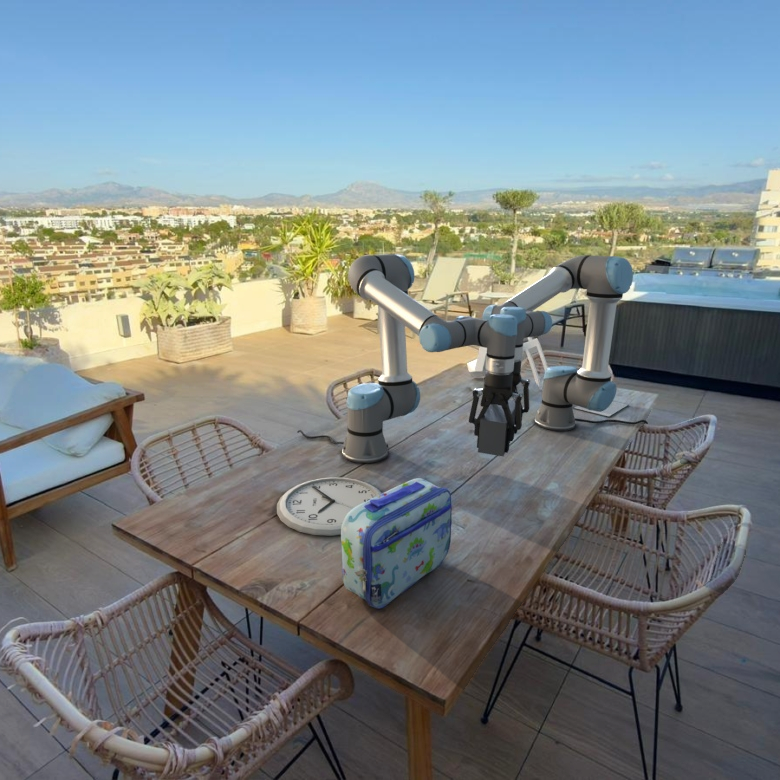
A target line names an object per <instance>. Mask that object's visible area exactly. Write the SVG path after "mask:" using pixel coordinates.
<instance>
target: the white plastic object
mask: <svg viewBox="0 0 780 780" xmlns="http://www.w3.org/2000/svg"><path fill="white" fill-rule="evenodd" d="M526 339H527V341H525V342H523V352H522V359H521V360H520V361H521V362H522V361H524V360H525V359H526V358H527V359H528V363H529V367H530V369H531V372H532V375H533V378H534V381H535V384H536V385H537V386H538V388H539V389H540V391H543V384H542V382H541V380H540V376H539V374H538V370H537V367H536V365H535V361H534V358H533V355H534V354H536V353H538V355H539V357H540V360H541V363H542V367H543V369H544V372H545V371H546V369H547V368H549V366H548V363H547V359H546V357H545V353H544V350H543V348H542V345H541V342H540V340H539V339H538V338H537V337H535V338H533V337H527V338H526ZM478 347H479V348H478V352H477V356H476V359H474V360H472V361H470V362H467V363H466V366H467V369H468V373H469V374H470V376H471V377H472V378H480V377H485V372H486V371H487V370H486V357H487V348H485V347H480V346H478Z"/></svg>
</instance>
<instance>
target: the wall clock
mask: <svg viewBox="0 0 780 780" xmlns="http://www.w3.org/2000/svg"><path fill="white" fill-rule="evenodd" d="M382 493H383V492H382V491H381V490H380V489H379V488H377V487H376V486H374V485H372V484H371V483H369V482H365V481H362V480H359V479H355V478H349V477H338V476H337V477H335V476H333V477H332V476H331V477H322V478H317V479H312V480H307V481H305V482H302V483H299V484H297V485H295V486H293V487H292V488H290V489H288V490H287V491H286V492H285V493H284V494H283V495H281V496H280V498H279V499H278V502H277V503H276V515H277V517H278V518H279V520H280V521H281V522H282V523H283V524H285V525H286V526H287V527H288V528H290V529H293V530H295V531H297V532H299V533H303V534H308V535H312V536H327V537H328V536H329V537H331V536H332V537H333V536H341V528H342V523H343V520H344V518H345V517H346V515H347V514H348V512H349V511H350V510H351V509H353V508H354V507H356V506H358V505H360V504H362V503H364V502H366V501H368V500H370V499H372V498H374V497H376V496H378V495H380V494H382Z"/></svg>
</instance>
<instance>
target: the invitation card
mask: <svg viewBox="0 0 780 780" xmlns="http://www.w3.org/2000/svg"><path fill="white" fill-rule="evenodd" d="M628 406H629V404H627V403H623V402H618V401H614V400H613V401H612V403H611V404H610V406H609V407H608V408H607V409H605V410H604V411H601V412H597V411H593V410H588V409H586V408H583V407H580V406H576V405H575V406H574V407H573V409H575V410H581V411H584V412H587V413H593V414H596V415H600V416H604V417H608V418H609V417H611V416H613V415H614V414H616V413H617V412H619V411H621V410H623V409H624V408H626V407H628Z"/></svg>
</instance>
